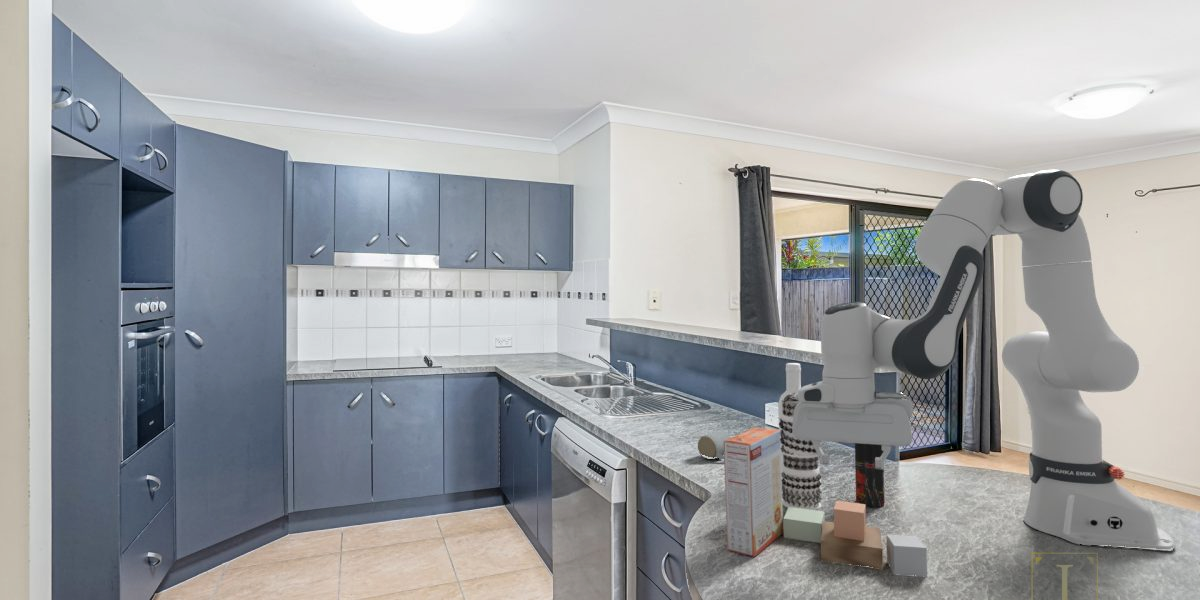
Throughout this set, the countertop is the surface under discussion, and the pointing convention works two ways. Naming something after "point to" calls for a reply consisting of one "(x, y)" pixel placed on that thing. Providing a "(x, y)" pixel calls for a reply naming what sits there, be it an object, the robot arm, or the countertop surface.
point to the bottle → (789, 391)
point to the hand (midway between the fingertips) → (851, 466)
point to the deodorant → (869, 476)
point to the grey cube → (906, 555)
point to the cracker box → (753, 490)
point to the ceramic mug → (713, 444)
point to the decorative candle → (798, 463)
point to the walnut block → (852, 547)
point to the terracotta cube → (850, 520)
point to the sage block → (803, 524)
